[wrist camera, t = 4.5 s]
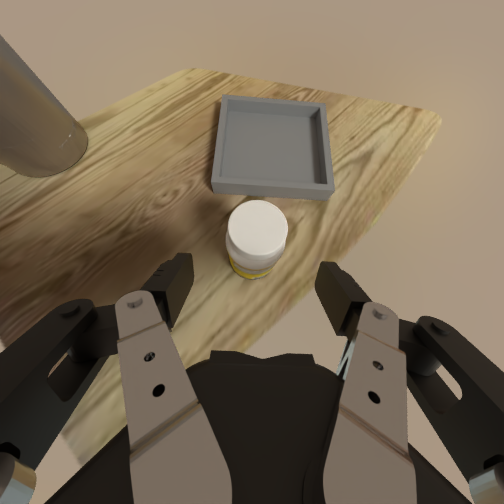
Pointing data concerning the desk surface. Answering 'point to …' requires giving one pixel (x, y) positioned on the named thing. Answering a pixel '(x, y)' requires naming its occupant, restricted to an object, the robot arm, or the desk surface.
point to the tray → (273, 149)
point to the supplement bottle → (255, 238)
